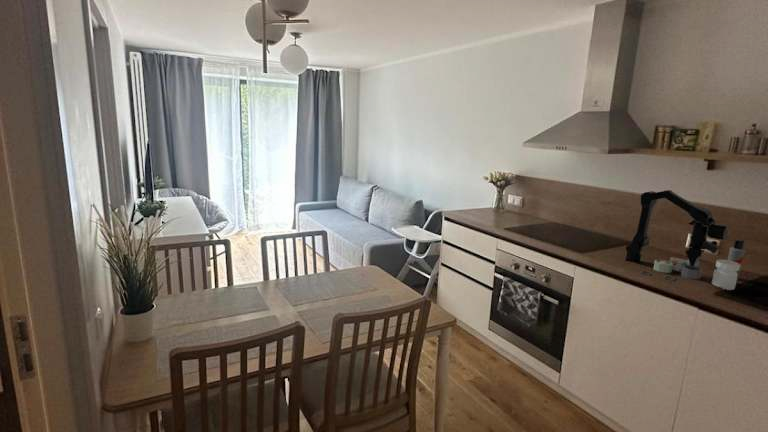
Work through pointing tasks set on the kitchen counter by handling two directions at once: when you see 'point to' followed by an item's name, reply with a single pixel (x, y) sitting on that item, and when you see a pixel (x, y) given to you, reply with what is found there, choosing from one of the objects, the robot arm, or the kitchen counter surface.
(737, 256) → the lotion bottle
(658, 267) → the tube left
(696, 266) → the ball slate
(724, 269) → the vase
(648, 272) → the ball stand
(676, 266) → the dot card
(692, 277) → the tube right
